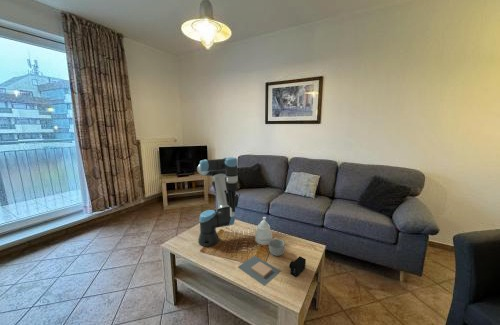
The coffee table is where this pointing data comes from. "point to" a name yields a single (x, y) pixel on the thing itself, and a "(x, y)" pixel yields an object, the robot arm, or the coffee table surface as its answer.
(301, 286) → the coffee table surface
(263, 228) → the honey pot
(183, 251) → the coffee table surface
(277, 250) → the teacup
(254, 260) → the mat
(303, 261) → the digital camera
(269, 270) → the tile
